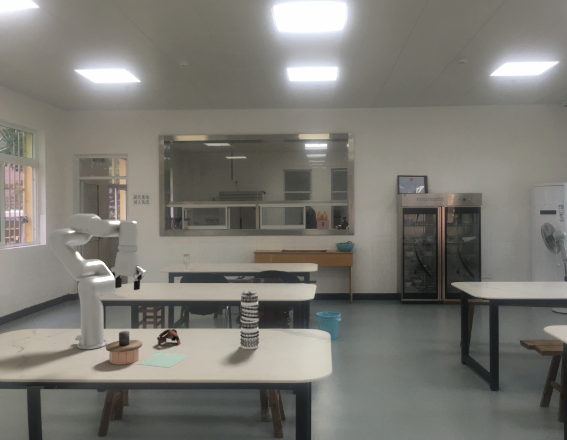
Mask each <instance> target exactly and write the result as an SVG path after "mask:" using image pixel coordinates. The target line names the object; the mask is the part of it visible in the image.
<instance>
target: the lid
mask: <svg viewBox="0 0 567 440" xmlns="http://www.w3.org/2000/svg"><path fill="white" fill-rule="evenodd" d="M142 346H143V341H141V340H138V339H130V331H126V330H124V331H119V332H118V340H116V341H112V342H109V343H107V345H105V350H106V351H108V352H109V353H110V352H126V351H132V350H135V349H138V348H139V349H140V348H142Z"/></svg>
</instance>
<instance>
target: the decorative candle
mask: <svg viewBox="0 0 567 440" xmlns="http://www.w3.org/2000/svg"><path fill="white" fill-rule="evenodd" d="M258 295H259V293H257V292H256V291H255V290H244V291H243V292H242V293H241V294H240V297H241V299H240V304H239V305H238V306H239V307H240V308H239V315H240V317H239V319H240V322H241V325H240V326H241V327H240V338H239V340H240V348H241V349H244V350H255V349H258V348H259V347H260V345H259V343H260V337H259V336H260V334H259V333H260V331H259V321H260V312H259V310H260V304H259V300H258V299H259V297H258Z"/></svg>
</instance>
